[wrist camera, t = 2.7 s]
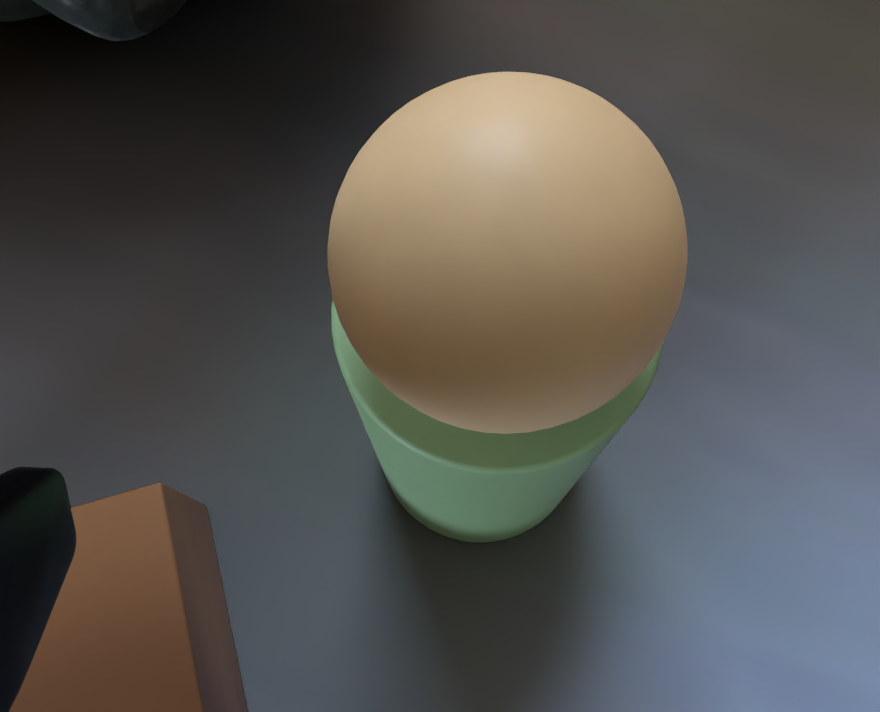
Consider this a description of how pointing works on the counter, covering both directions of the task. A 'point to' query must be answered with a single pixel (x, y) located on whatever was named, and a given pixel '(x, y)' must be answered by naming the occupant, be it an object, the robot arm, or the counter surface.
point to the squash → (98, 14)
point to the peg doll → (501, 293)
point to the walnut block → (138, 614)
